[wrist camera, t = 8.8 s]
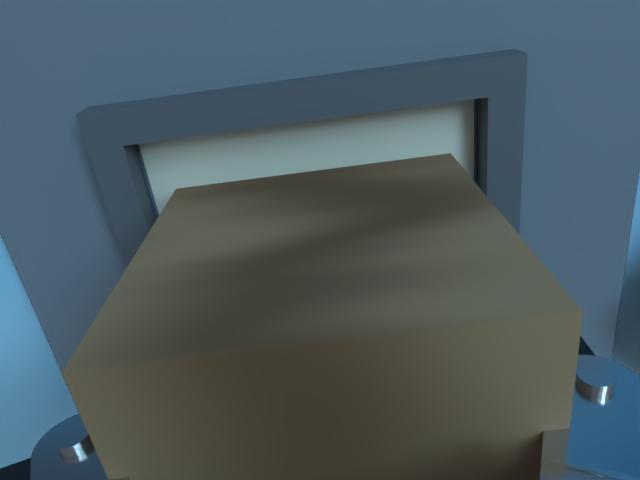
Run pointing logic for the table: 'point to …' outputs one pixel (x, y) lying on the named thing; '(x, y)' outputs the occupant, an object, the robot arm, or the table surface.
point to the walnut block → (330, 335)
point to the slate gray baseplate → (311, 123)
